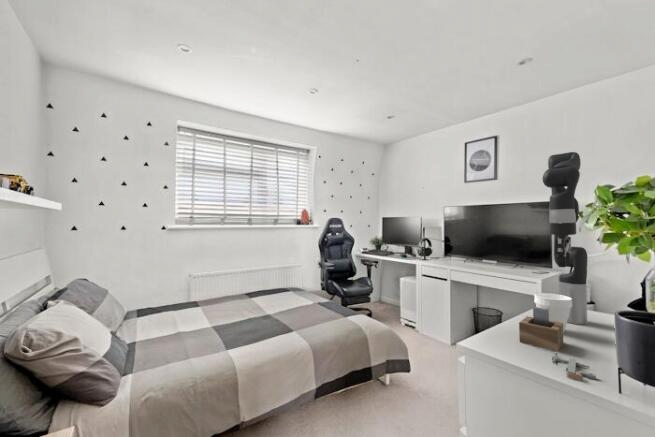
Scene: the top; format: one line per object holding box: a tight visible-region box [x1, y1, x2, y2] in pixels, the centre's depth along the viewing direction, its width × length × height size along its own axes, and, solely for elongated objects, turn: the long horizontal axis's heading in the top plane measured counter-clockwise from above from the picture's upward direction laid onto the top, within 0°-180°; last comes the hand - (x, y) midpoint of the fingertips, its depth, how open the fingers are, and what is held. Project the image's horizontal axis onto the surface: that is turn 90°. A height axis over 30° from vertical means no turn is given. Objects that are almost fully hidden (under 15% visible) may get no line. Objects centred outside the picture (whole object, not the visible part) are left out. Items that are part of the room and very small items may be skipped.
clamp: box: [551, 352, 597, 382], centre depth 85 cm, size 15×2×10 cm
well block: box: [518, 315, 564, 353], centre depth 104 cm, size 11×11×7 cm
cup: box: [533, 292, 572, 334], centre depth 117 cm, size 12×12×14 cm
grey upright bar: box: [532, 306, 550, 327], centre depth 105 cm, size 4×4×12 cm
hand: (564, 265), depth 105 cm, fingers open, 8 cm apart
